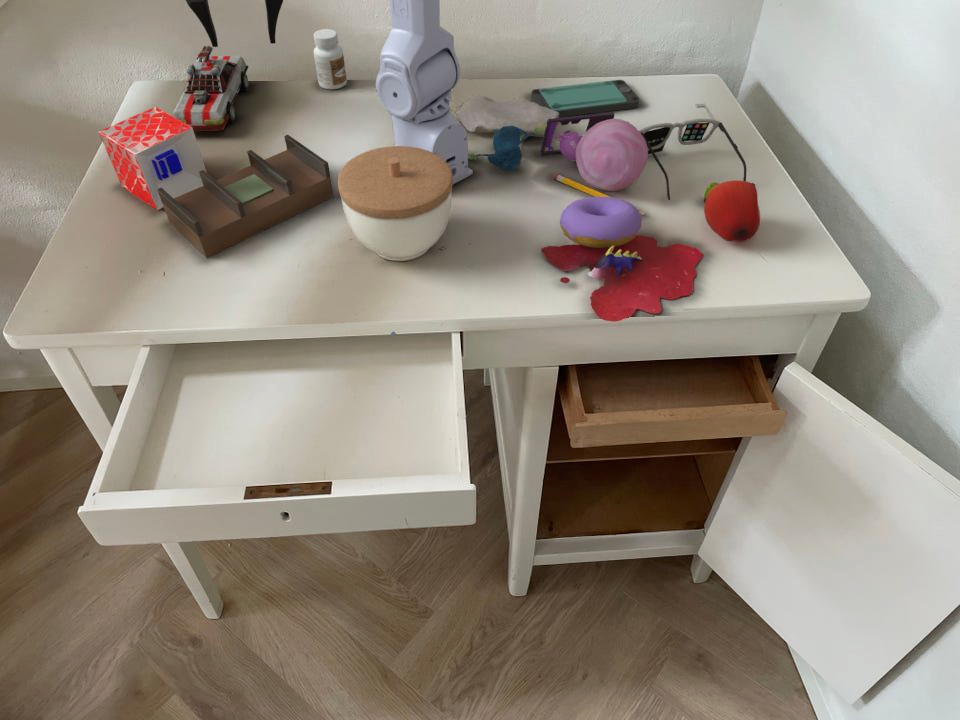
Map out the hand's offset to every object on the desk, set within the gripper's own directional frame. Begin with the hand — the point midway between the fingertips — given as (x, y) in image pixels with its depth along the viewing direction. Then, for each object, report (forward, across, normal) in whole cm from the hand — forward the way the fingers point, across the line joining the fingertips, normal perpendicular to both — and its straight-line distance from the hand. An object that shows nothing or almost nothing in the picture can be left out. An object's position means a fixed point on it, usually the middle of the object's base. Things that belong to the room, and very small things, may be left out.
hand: (243, 41), depth 99 cm
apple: (+2, -52, +49) cm, 71 cm away
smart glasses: (+5, -54, +32) cm, 63 cm away
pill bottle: (+10, -12, -4) cm, 16 cm away
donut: (+5, -38, +44) cm, 58 cm away
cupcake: (+3, -46, +28) cm, 54 cm away
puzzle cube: (+10, +13, +18) cm, 24 cm away
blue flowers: (+5, -33, +20) cm, 39 cm away
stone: (+7, -28, +11) cm, 31 cm away
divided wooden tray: (+8, +2, +26) cm, 27 cm away
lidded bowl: (+7, -14, +37) cm, 41 cm away
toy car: (+10, +6, -1) cm, 12 cm away
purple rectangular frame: (+6, -41, +26) cm, 49 cm away
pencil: (+6, -41, +35) cm, 54 cm away
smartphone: (+7, -48, +11) cm, 50 cm away
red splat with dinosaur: (+6, -39, +49) cm, 63 cm away
